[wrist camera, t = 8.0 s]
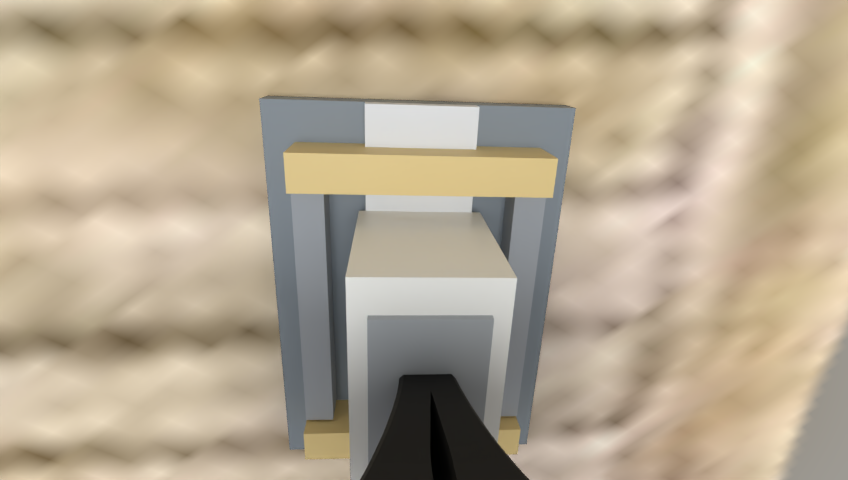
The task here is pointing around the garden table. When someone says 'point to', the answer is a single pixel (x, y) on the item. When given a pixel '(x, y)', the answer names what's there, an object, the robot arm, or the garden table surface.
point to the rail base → (413, 192)
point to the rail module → (424, 315)
